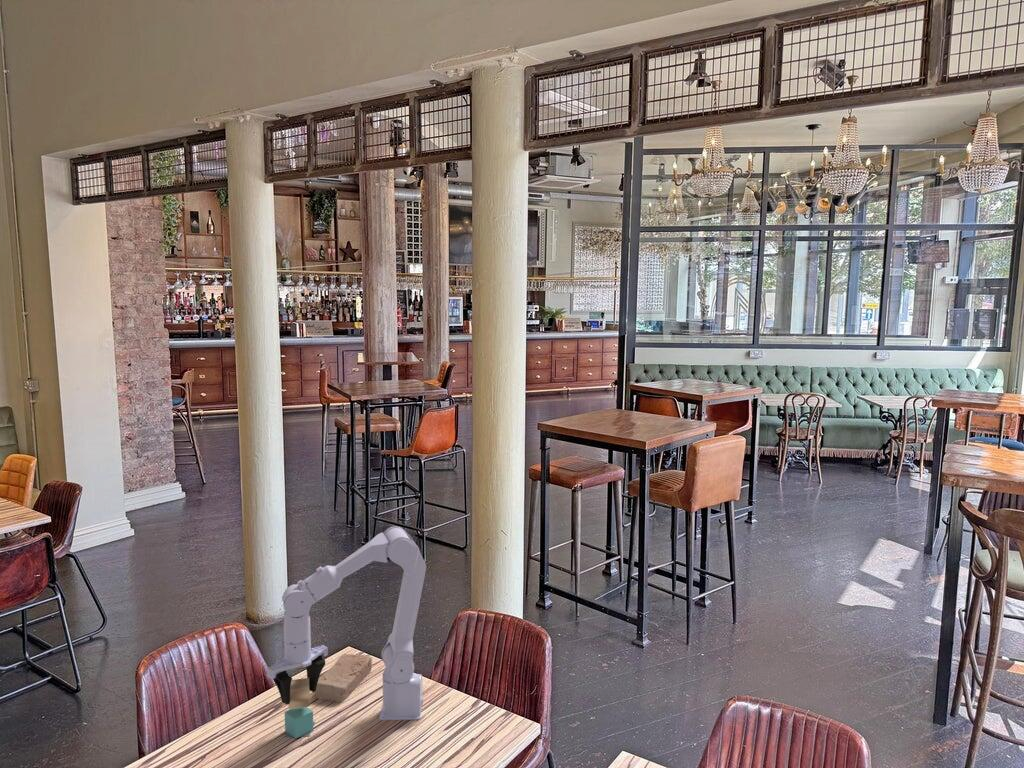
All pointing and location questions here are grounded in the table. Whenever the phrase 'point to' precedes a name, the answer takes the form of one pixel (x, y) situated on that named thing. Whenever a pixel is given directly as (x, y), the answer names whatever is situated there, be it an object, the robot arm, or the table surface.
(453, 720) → the table surface
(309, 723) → the teal block
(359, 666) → the brick
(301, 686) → the beech block
